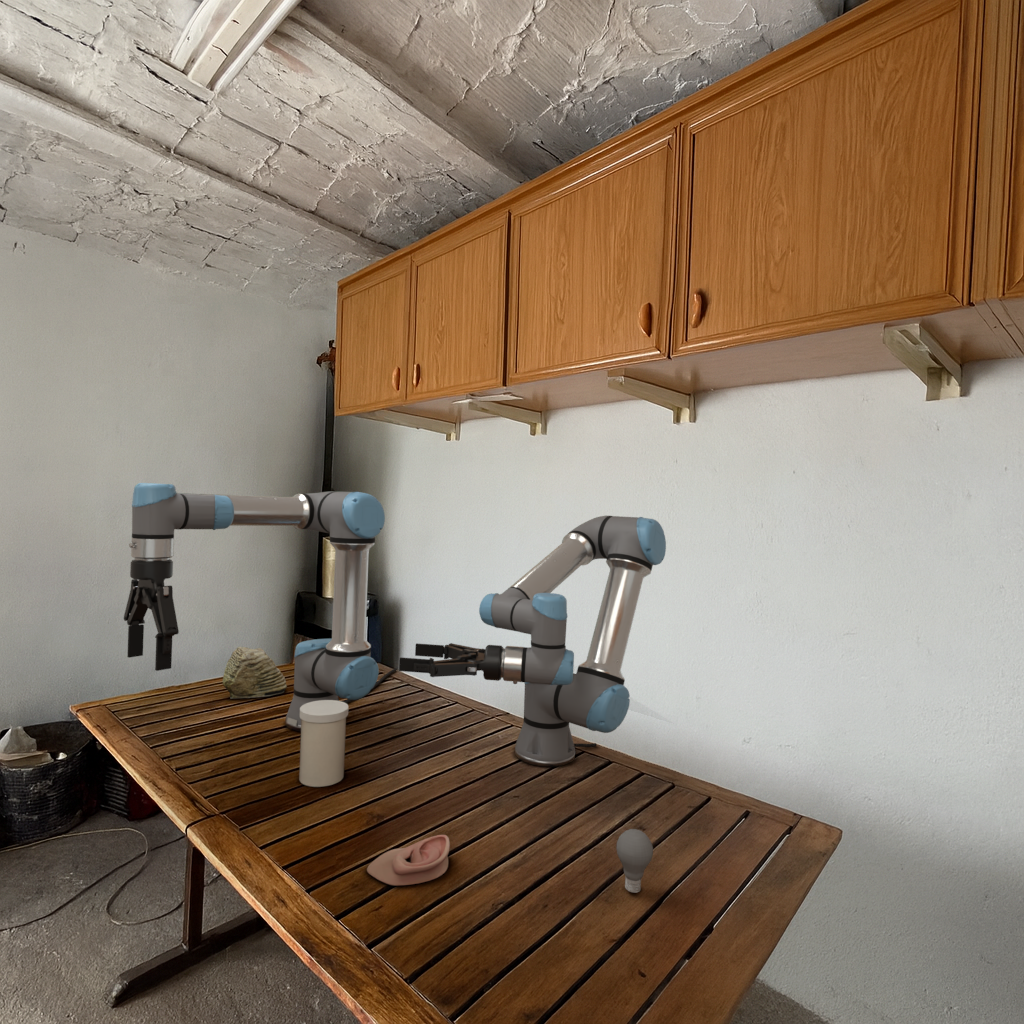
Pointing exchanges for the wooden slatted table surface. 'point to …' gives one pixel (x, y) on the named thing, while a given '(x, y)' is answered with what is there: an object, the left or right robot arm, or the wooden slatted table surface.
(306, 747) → the jar
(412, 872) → the anatomical model
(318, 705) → the lid
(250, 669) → the fossil
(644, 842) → the light bulb
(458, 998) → the wooden slatted table surface
